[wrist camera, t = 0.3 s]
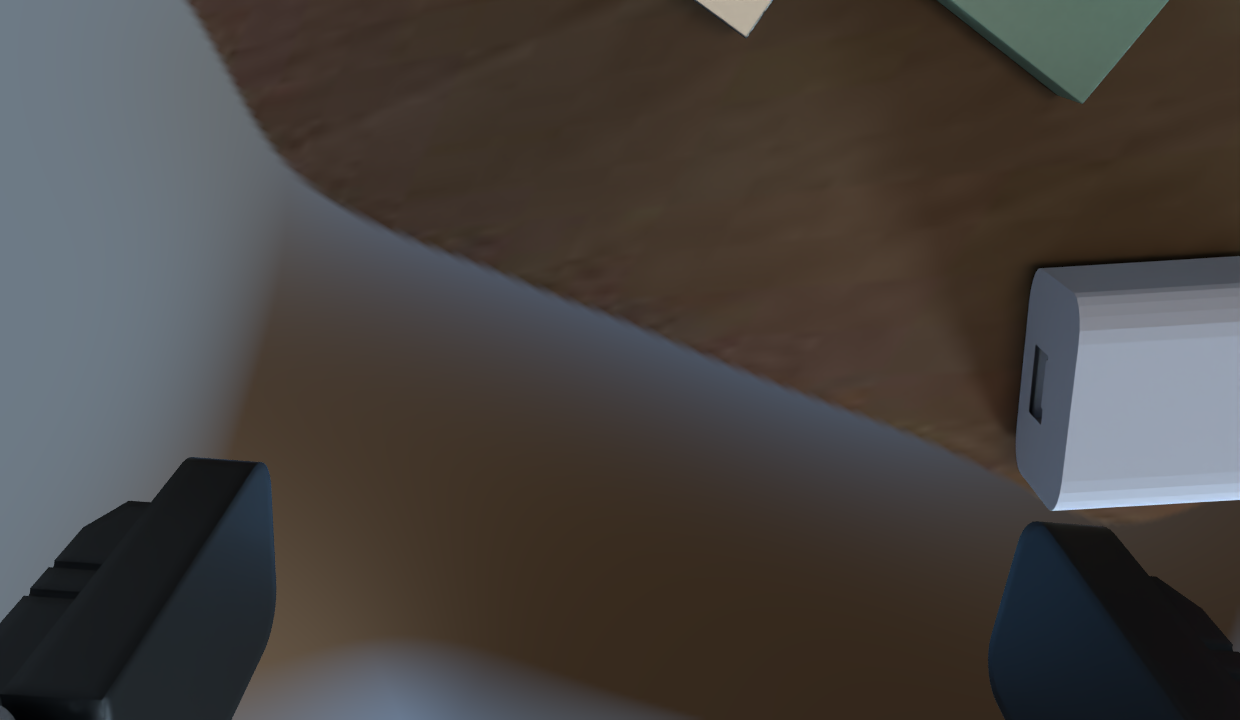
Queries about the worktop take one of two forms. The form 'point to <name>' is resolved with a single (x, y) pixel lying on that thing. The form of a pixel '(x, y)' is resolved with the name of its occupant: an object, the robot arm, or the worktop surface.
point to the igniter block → (1060, 36)
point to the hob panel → (737, 12)
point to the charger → (1132, 384)
